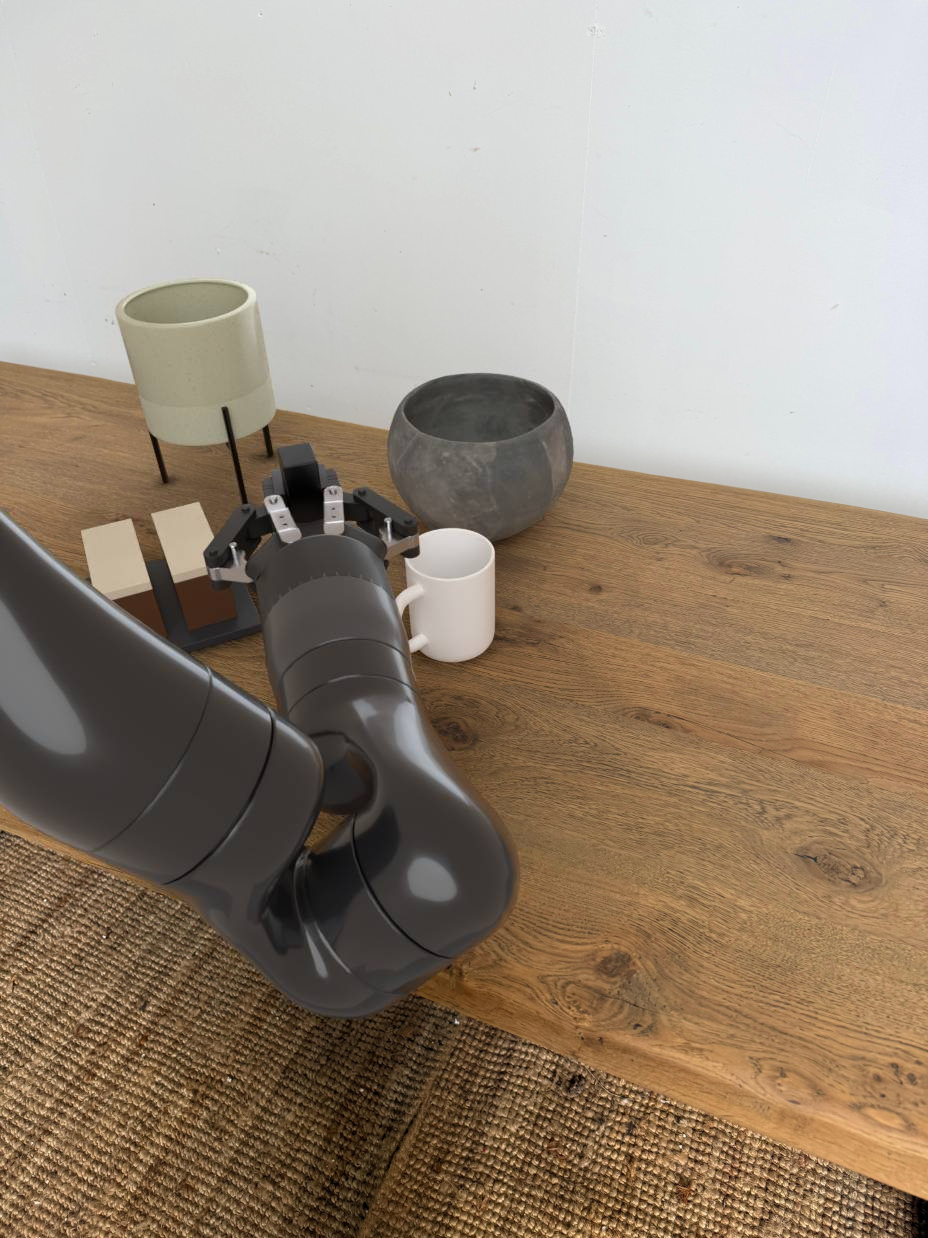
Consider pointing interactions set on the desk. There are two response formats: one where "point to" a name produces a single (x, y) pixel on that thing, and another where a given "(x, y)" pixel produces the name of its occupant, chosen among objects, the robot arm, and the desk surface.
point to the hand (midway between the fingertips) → (298, 478)
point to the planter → (199, 364)
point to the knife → (301, 482)
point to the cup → (451, 595)
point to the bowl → (480, 453)
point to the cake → (169, 580)
